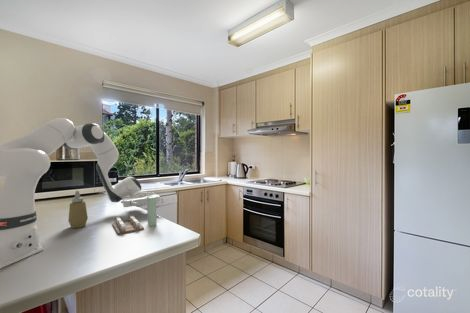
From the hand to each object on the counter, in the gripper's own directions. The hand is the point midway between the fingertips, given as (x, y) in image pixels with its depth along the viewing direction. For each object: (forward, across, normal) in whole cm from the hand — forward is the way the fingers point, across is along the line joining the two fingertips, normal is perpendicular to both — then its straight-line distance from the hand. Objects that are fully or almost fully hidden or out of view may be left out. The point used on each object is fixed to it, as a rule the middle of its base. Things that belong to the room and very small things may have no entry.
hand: (145, 203), depth 121 cm
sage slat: (+12, 0, +9) cm, 15 cm away
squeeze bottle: (-9, -30, +9) cm, 33 cm away
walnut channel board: (+8, -11, +9) cm, 16 cm away
